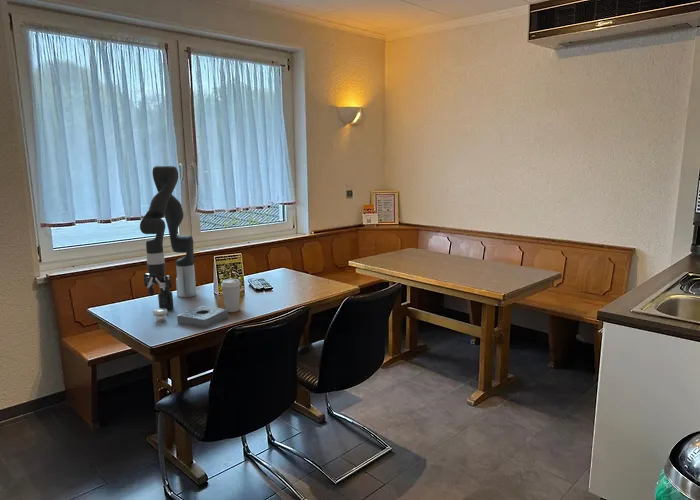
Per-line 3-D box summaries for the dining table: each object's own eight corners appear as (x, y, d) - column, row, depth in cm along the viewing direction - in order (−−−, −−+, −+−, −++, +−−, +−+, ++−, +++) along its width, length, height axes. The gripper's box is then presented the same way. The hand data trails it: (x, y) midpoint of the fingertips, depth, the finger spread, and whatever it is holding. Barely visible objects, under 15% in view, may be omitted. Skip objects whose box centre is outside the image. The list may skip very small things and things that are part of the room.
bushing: (150, 322, 229) (149, 311, 228) (160, 318, 235) (160, 307, 234) (161, 324, 227) (160, 313, 226) (171, 319, 232) (170, 309, 231)
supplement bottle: (176, 308, 249) (174, 285, 247) (167, 312, 243) (165, 288, 241) (165, 307, 252) (163, 284, 249) (156, 311, 245) (154, 287, 243)
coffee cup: (232, 314, 239) (230, 284, 236) (218, 311, 244) (216, 281, 241) (246, 308, 247) (244, 279, 244) (232, 306, 252) (230, 277, 249)
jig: (177, 323, 227) (177, 315, 226) (201, 313, 241) (200, 305, 240) (205, 328, 220) (205, 319, 220) (228, 317, 235) (227, 309, 234)
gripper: (137, 262, 225) (140, 297, 228) (161, 264, 219) (164, 300, 222) (150, 259, 232) (153, 293, 235) (173, 261, 226) (176, 296, 229)
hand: (158, 296), depth 228 cm, fingers open, 8 cm apart
